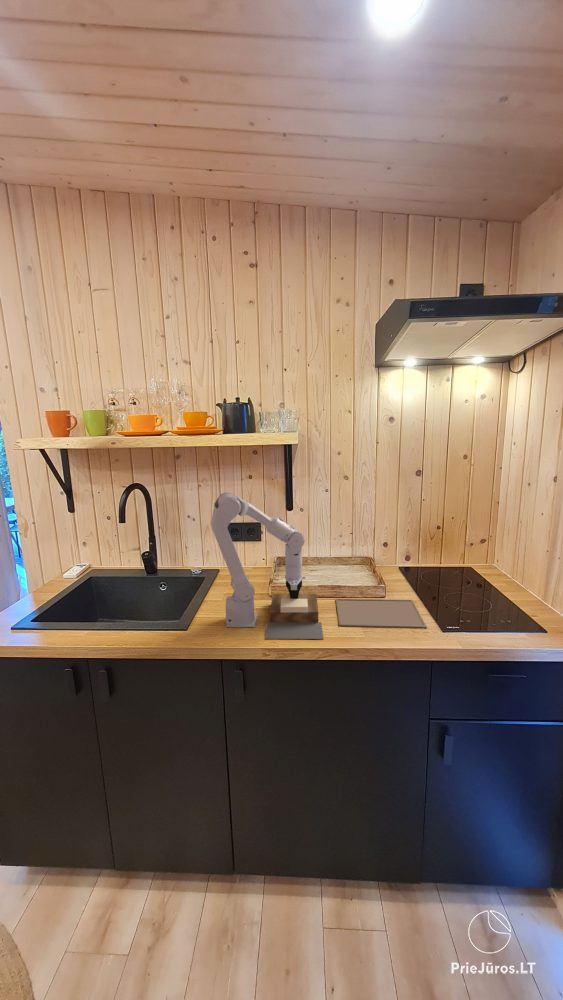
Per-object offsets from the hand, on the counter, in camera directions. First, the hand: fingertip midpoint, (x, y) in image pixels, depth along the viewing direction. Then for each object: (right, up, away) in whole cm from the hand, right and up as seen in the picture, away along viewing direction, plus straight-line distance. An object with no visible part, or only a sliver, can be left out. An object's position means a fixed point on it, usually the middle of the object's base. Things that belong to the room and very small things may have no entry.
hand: (294, 600), depth 140 cm
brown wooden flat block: (0, -5, +1) cm, 5 cm away
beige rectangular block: (0, -2, -4) cm, 4 cm away
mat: (0, -7, -11) cm, 13 cm away
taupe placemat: (+29, -5, 0) cm, 29 cm away
